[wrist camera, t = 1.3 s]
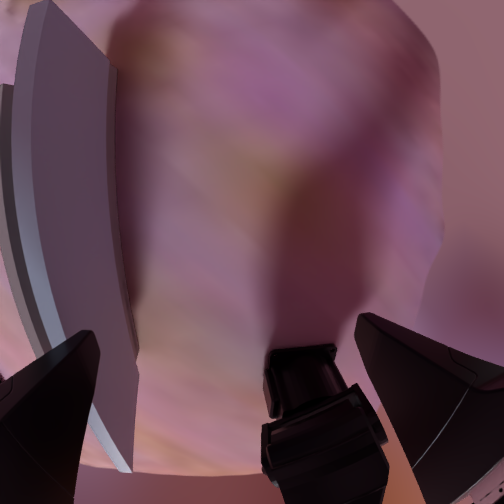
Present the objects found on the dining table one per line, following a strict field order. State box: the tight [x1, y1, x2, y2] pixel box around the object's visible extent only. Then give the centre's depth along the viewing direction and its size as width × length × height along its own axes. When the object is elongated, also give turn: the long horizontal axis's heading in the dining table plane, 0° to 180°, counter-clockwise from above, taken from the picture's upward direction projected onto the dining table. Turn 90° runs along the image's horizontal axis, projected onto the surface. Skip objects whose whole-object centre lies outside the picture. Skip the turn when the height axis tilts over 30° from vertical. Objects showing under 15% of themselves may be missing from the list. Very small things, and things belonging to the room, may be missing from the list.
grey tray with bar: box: [0, 64, 139, 361], centre depth 18 cm, size 9×23×4 cm, turn 178°
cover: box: [11, 0, 139, 473], centre depth 12 cm, size 9×22×1 cm
